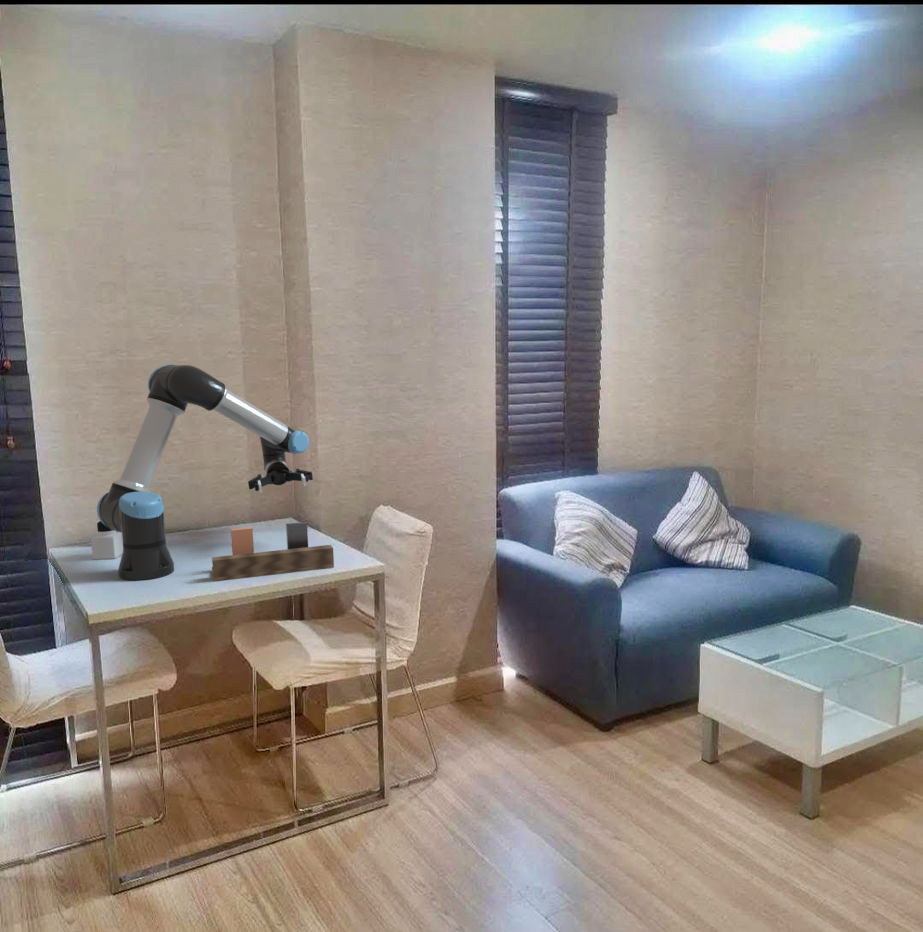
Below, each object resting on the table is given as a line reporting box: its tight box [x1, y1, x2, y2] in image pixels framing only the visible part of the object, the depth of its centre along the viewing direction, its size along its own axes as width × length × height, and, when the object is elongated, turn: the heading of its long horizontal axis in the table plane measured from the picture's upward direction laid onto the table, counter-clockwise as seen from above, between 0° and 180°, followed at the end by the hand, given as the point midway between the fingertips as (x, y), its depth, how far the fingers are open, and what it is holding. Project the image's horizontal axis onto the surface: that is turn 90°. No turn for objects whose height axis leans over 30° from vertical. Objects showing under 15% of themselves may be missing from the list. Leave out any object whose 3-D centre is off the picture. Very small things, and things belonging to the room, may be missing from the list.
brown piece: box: [211, 544, 335, 582], centre depth 229 cm, size 34×12×6 cm, turn 111°
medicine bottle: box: [90, 519, 123, 560], centre depth 247 cm, size 7×7×12 cm
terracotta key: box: [230, 526, 255, 555], centre depth 229 cm, size 6×2×11 cm, turn 111°
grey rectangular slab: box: [285, 521, 309, 549], centre depth 234 cm, size 6×2×11 cm, turn 111°
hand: (282, 485), depth 242 cm, fingers open, 13 cm apart
